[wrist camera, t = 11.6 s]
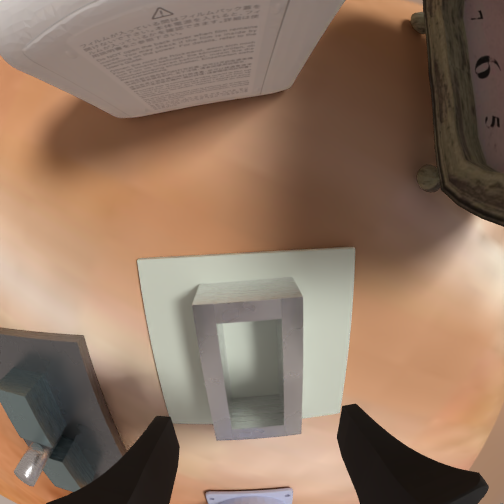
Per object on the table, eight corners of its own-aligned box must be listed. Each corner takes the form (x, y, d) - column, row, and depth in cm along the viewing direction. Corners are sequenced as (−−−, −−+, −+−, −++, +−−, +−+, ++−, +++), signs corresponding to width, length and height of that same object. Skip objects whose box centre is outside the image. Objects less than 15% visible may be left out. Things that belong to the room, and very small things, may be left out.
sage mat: (338, 409, 19) (339, 412, 19) (172, 419, 19) (171, 423, 19) (352, 246, 17) (355, 248, 16) (139, 258, 16) (137, 259, 16)
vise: (146, 489, 21) (132, 547, 14) (50, 467, 21) (26, 512, 14) (83, 335, 17) (25, 402, 10) (-22, 324, 17) (-75, 363, 10)
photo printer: (287, 31, 14) (350, -133, 2) (300, 96, 15) (417, -45, 3) (111, 63, 14) (-24, -42, 2) (115, 129, 15) (-62, 72, 3)
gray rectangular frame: (293, 403, 19) (301, 433, 16) (218, 409, 18) (216, 440, 15) (292, 276, 17) (303, 296, 14) (199, 283, 16) (191, 305, 13)
